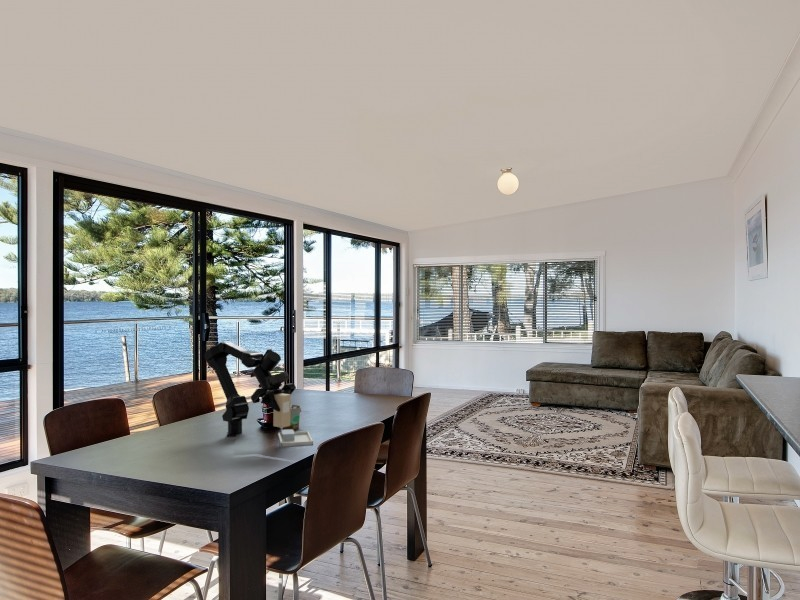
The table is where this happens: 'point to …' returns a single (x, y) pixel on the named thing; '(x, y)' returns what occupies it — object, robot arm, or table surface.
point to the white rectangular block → (288, 435)
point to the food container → (294, 418)
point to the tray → (297, 439)
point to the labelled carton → (282, 411)
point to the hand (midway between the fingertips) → (284, 410)
